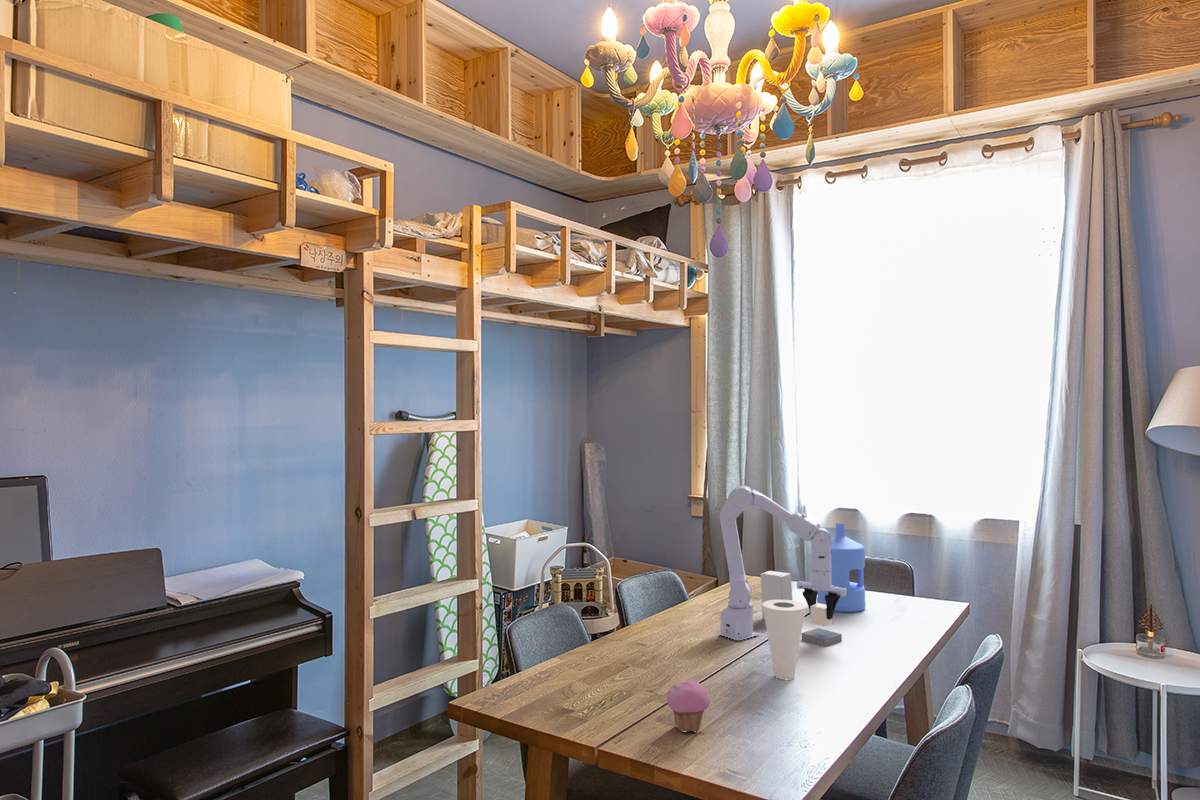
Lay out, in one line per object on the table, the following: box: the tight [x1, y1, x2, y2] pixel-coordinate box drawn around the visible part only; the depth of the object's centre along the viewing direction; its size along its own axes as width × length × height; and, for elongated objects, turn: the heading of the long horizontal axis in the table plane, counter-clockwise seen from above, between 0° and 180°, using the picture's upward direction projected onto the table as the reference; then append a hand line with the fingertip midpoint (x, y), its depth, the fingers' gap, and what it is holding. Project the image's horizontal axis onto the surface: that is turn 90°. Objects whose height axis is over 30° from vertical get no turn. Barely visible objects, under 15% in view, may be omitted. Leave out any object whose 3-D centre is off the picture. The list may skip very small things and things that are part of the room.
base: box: [801, 627, 843, 647], centre depth 218 cm, size 8×8×2 cm
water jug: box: [816, 523, 866, 613], centre depth 255 cm, size 16×16×28 cm
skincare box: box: [760, 570, 793, 620], centre depth 240 cm, size 8×6×15 cm
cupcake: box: [666, 679, 710, 732], centre depth 157 cm, size 9×9×10 cm
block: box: [809, 602, 833, 627], centre depth 218 cm, size 4×4×5 cm
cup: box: [761, 599, 807, 680], centre depth 188 cm, size 11×11×18 cm
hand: (821, 617), depth 218 cm, fingers closed on block, 4 cm apart
